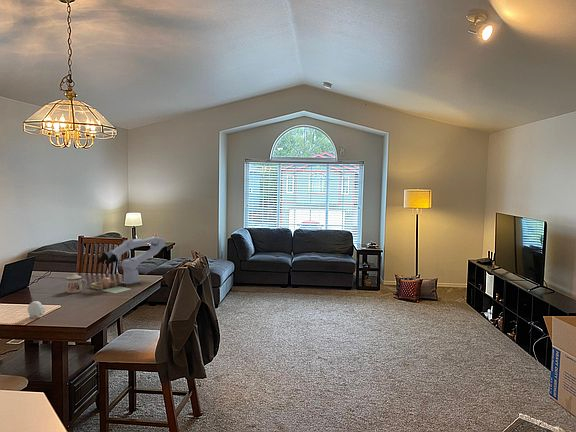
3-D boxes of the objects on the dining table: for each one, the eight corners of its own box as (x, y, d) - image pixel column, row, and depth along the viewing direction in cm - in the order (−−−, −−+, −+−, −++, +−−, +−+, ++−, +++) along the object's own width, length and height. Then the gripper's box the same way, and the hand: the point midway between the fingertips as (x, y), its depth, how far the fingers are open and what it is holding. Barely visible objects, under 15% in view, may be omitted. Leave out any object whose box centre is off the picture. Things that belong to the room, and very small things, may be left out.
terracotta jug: (107, 286, 305) (106, 277, 305) (111, 287, 303) (111, 278, 302) (98, 288, 300) (98, 279, 299) (103, 289, 297) (102, 279, 297)
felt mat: (119, 286, 303) (119, 286, 303) (132, 289, 296) (132, 288, 296) (101, 290, 292) (101, 290, 292) (114, 293, 286) (114, 293, 286)
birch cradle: (105, 284, 311) (105, 280, 310) (116, 286, 304) (116, 282, 304) (89, 287, 301) (89, 283, 300) (100, 290, 294) (100, 286, 294)
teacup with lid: (65, 293, 285) (64, 275, 284) (67, 290, 293) (66, 272, 292) (86, 292, 288) (85, 274, 287) (87, 289, 297) (87, 271, 296)
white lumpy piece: (26, 302, 232) (36, 298, 244) (26, 319, 232) (36, 314, 244) (39, 302, 233) (48, 298, 245) (39, 318, 233) (48, 314, 245)
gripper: (109, 245, 309) (92, 256, 299) (123, 247, 301) (106, 258, 291) (113, 254, 312) (97, 265, 302) (126, 256, 304) (110, 268, 294)
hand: (101, 262), depth 297 cm, fingers open, 7 cm apart
